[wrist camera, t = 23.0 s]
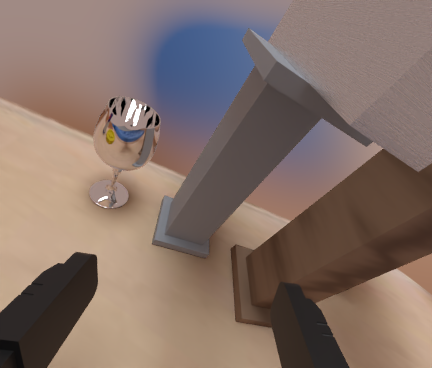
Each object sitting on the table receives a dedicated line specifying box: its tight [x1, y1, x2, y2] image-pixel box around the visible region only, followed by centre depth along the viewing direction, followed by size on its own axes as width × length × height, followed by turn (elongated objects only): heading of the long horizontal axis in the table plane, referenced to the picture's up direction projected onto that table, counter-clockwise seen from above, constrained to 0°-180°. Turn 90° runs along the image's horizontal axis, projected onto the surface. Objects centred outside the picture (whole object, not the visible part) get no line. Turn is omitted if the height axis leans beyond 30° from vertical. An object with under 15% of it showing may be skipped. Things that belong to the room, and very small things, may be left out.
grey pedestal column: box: [152, 28, 373, 258], centre depth 22 cm, size 8×11×22 cm
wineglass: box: [89, 96, 160, 209], centre depth 23 cm, size 6×6×12 cm
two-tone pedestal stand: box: [231, 149, 432, 327], centre depth 18 cm, size 9×11×34 cm
